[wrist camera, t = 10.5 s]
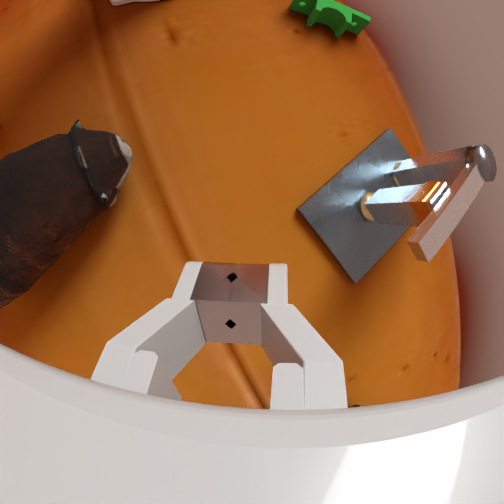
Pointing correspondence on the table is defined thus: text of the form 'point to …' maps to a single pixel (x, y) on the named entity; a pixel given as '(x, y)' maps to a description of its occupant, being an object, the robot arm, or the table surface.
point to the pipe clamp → (331, 15)
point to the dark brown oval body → (54, 200)
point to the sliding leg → (405, 203)
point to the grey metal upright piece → (454, 200)
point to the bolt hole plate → (357, 207)
